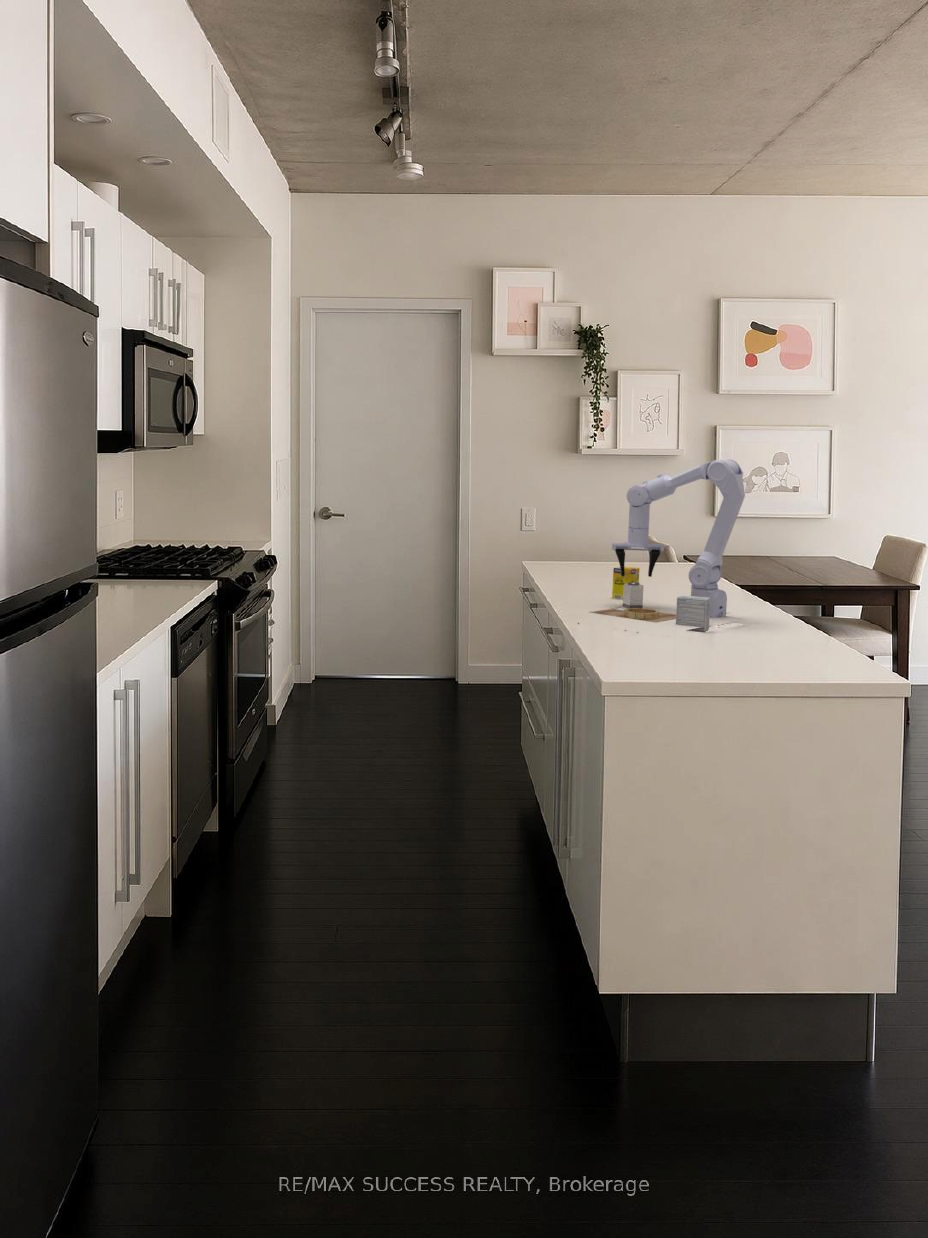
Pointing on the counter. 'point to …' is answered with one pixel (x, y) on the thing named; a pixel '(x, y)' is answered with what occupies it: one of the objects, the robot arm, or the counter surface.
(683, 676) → the counter surface
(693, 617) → the medicine box
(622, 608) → the grey pad
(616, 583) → the supplement box
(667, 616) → the walnut board
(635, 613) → the brass eye
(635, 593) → the steel post
